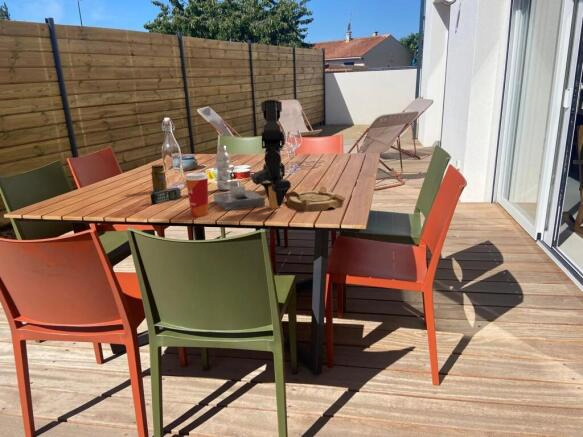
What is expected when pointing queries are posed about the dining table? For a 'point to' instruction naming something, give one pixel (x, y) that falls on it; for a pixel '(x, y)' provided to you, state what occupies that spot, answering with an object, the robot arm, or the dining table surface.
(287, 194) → the ashtray
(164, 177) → the condiment
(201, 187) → the coffee cup
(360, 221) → the dining table surface
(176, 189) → the dark grey elongated bar
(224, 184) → the plastic bottle
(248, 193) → the grey slotted base plate
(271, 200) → the orange rectangular block
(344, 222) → the dining table surface
